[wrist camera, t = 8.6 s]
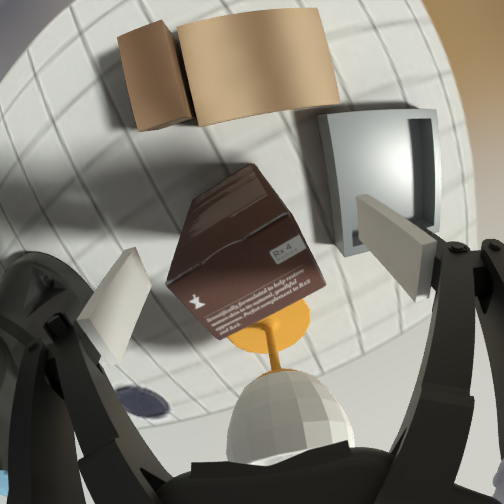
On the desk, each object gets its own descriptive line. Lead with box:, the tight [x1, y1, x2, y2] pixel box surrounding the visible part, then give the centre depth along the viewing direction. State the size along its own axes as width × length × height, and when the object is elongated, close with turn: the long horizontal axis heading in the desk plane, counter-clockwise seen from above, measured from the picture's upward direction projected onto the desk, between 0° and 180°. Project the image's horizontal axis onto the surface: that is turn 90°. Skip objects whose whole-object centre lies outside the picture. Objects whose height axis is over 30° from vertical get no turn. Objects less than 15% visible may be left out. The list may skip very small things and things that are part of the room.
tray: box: [316, 109, 441, 257], centre depth 20 cm, size 11×12×2 cm
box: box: [165, 164, 326, 340], centre depth 17 cm, size 6×4×12 cm
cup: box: [226, 298, 355, 466], centre depth 21 cm, size 9×9×16 cm
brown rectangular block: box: [117, 20, 195, 132], centre depth 15 cm, size 3×7×5 cm, turn 13°
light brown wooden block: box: [177, 8, 341, 127], centre depth 16 cm, size 10×8×3 cm
